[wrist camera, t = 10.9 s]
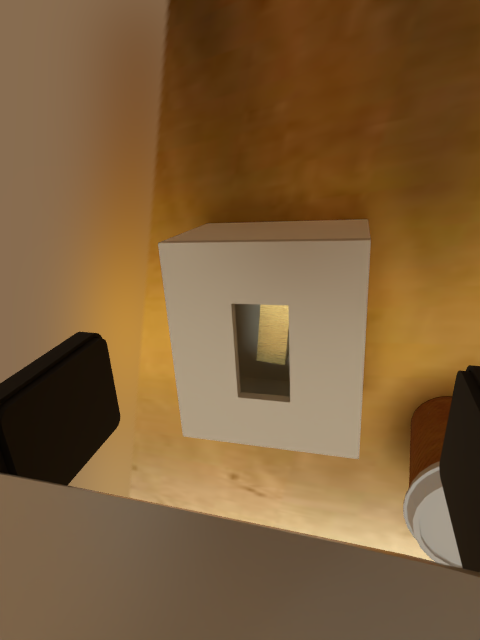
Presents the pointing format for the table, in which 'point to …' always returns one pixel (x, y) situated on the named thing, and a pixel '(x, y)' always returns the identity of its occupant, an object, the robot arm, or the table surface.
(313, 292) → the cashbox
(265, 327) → the wooden block
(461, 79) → the table surface
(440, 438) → the disposable coffee cup
